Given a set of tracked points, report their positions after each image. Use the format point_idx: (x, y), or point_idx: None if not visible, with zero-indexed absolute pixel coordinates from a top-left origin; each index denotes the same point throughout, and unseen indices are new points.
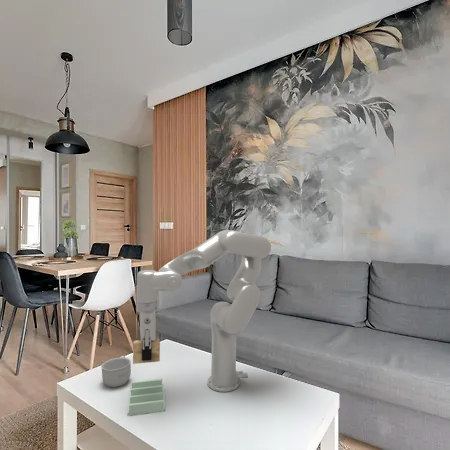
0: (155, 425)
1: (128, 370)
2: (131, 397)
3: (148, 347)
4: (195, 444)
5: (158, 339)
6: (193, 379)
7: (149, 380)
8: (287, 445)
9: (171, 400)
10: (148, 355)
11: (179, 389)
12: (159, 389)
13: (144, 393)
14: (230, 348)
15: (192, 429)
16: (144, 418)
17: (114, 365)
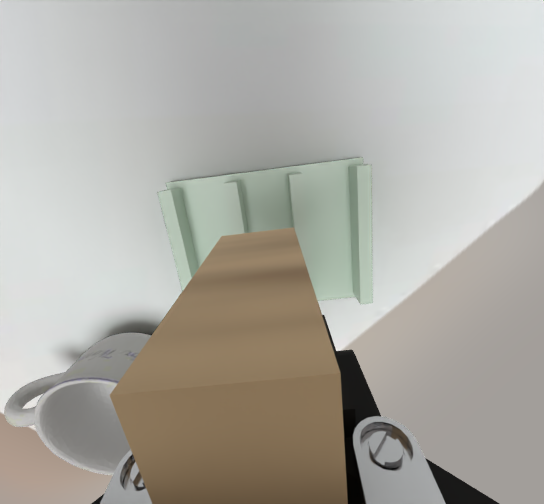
0: (441, 188)
1: (131, 361)
2: None
3: (478, 501)
4: None
5: (166, 420)
6: (85, 10)
7: (176, 251)
8: None
9: (285, 134)
10: (360, 373)
11: (193, 97)
12: (240, 195)
13: None
14: None
15: (516, 23)
16: (389, 232)
17: (76, 416)
